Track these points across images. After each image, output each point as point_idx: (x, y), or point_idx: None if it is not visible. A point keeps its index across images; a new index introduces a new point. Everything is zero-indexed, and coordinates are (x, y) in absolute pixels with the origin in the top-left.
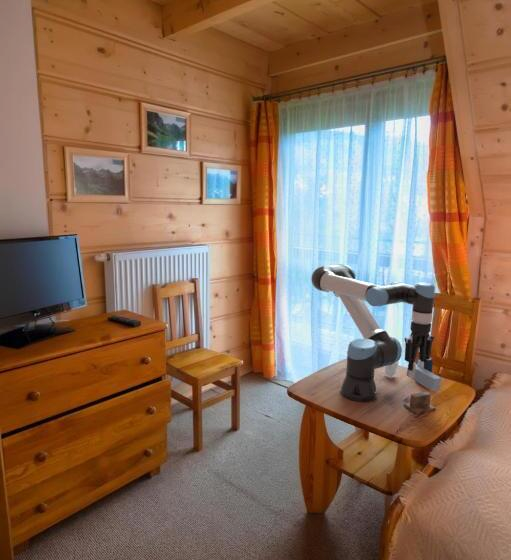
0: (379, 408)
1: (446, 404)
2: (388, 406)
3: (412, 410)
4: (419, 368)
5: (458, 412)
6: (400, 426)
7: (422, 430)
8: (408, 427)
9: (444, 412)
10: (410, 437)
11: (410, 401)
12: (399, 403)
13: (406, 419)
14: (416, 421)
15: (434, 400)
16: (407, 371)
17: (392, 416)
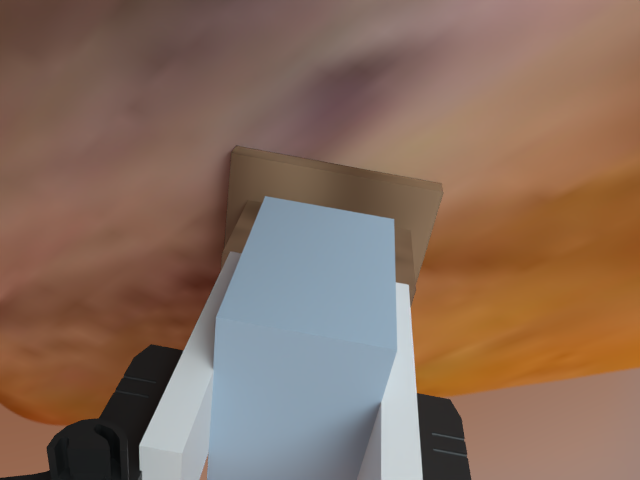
0: (13, 65)
1: (569, 297)
2: (110, 81)
3: (226, 239)
4: (278, 475)
5: (512, 386)
6: (18, 298)
7: (116, 377)
8: (59, 326)
9: (429, 344)
10: (5, 379)
11: (238, 222)
12: (240, 95)
13: (111, 271)
14: (156, 314)
15: (562, 216)
16: (250, 237)
17: (42, 200)
